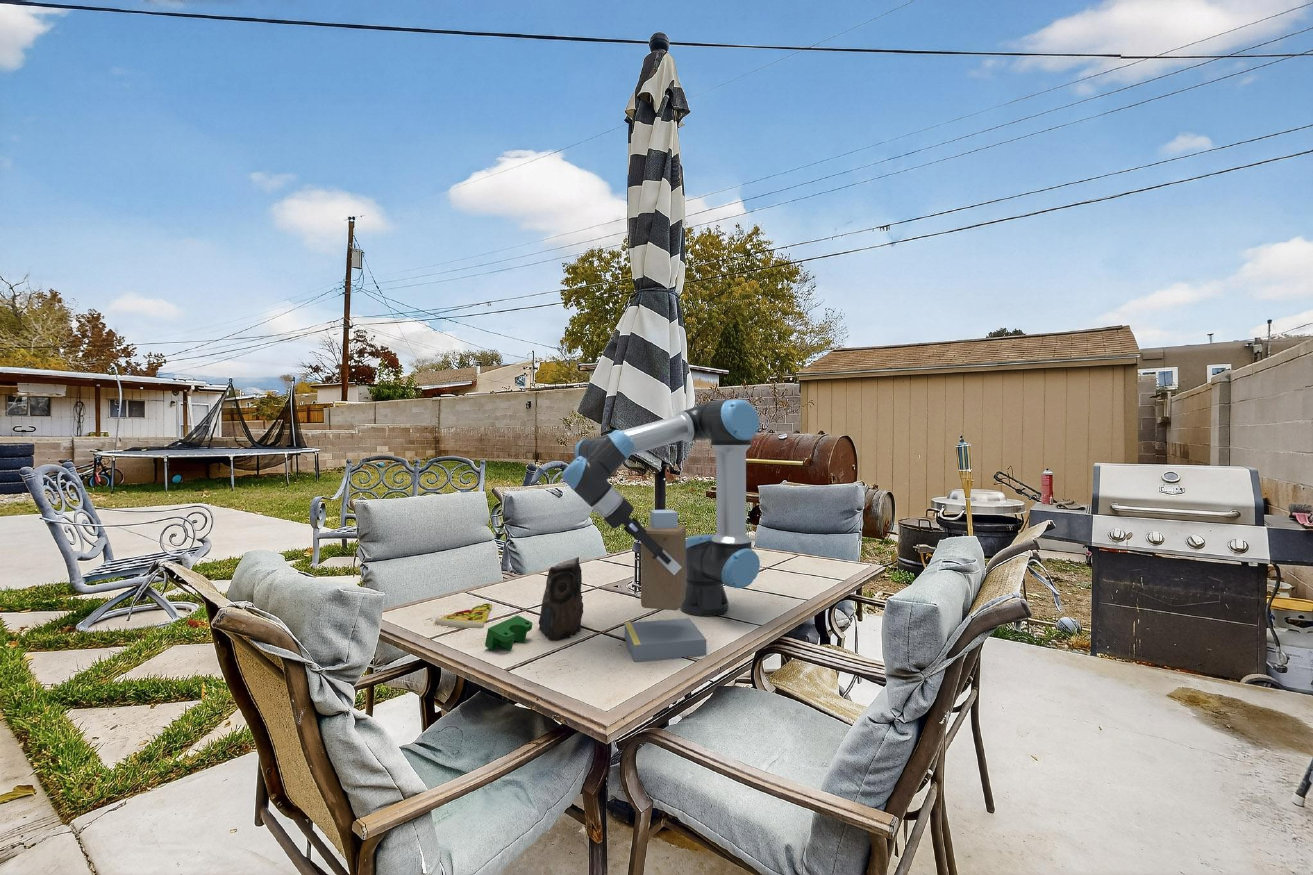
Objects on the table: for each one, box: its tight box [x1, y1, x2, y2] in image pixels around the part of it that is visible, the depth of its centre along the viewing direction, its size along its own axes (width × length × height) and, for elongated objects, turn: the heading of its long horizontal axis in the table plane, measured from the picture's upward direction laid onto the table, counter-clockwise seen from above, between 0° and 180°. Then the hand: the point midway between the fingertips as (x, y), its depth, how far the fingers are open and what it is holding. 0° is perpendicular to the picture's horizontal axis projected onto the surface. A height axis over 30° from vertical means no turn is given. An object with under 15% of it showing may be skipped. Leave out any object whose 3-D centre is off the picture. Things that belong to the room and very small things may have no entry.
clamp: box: [484, 614, 533, 651], centre depth 141 cm, size 12×6×9 cm, turn 148°
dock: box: [624, 617, 707, 663], centre depth 139 cm, size 18×16×4 cm
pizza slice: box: [434, 602, 493, 629], centre depth 164 cm, size 16×21×3 cm
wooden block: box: [640, 524, 687, 611], centre depth 139 cm, size 10×10×20 cm
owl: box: [538, 556, 584, 642], centre depth 149 cm, size 13×13×20 cm
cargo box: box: [649, 509, 678, 529], centre depth 139 cm, size 6×6×4 cm
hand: (671, 564), depth 140 cm, fingers closed on wooden block, 12 cm apart
